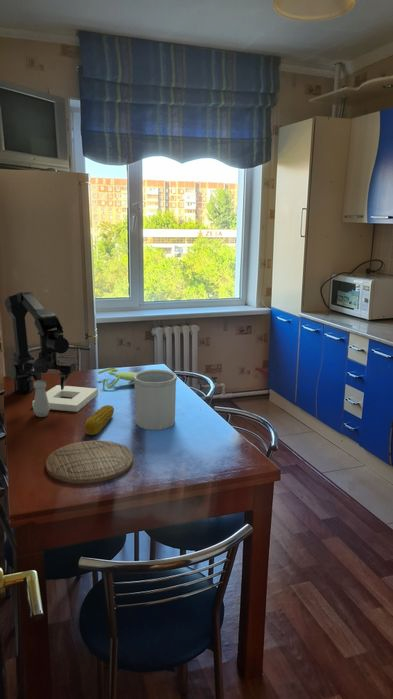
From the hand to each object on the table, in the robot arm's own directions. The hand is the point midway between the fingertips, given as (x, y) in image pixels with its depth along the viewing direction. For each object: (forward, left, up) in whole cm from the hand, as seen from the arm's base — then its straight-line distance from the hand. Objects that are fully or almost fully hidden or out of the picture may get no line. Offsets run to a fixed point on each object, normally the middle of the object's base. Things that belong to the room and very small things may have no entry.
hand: (50, 388), depth 191 cm
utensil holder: (+42, -5, -8) cm, 43 cm away
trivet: (+32, -39, -8) cm, 51 cm away
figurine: (+18, +35, -8) cm, 40 cm away
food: (+24, -12, -8) cm, 28 cm away
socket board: (+2, +8, -8) cm, 12 cm away
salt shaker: (0, -8, -8) cm, 11 cm away
